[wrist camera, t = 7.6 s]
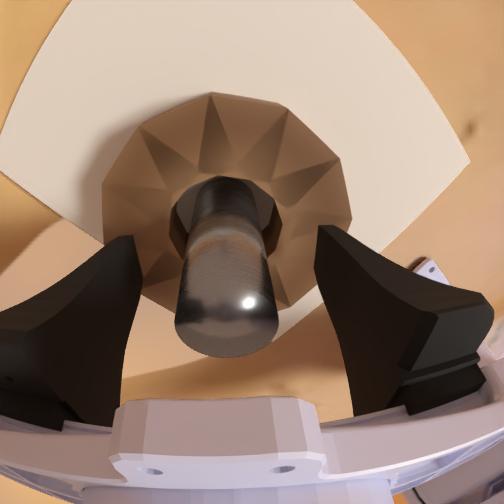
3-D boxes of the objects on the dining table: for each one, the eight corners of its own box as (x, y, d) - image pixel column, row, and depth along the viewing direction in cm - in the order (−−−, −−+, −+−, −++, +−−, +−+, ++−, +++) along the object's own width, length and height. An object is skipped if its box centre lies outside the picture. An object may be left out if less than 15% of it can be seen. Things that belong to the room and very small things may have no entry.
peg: (267, 201, 15) (300, 319, 9) (229, 241, 16) (234, 368, 10) (221, 165, 14) (217, 267, 7) (183, 209, 15) (155, 331, 9)
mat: (462, 157, 15) (470, 161, 15) (271, 334, 22) (272, 342, 21) (185, -102, 6) (184, -109, 6) (-2, 159, 13) (-9, 163, 12)
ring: (371, 195, 16) (392, 216, 13) (238, 317, 20) (241, 347, 18) (209, 47, 11) (205, 42, 9) (85, 224, 15) (67, 248, 13)
